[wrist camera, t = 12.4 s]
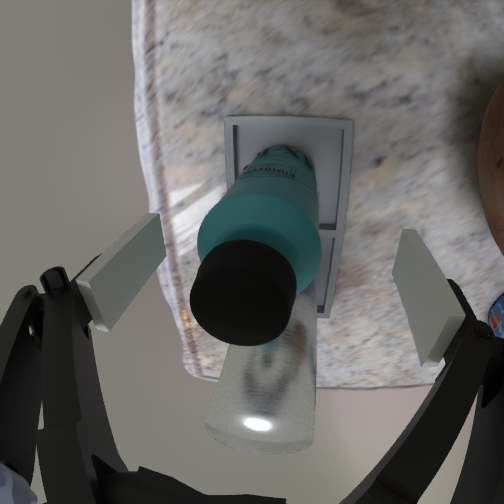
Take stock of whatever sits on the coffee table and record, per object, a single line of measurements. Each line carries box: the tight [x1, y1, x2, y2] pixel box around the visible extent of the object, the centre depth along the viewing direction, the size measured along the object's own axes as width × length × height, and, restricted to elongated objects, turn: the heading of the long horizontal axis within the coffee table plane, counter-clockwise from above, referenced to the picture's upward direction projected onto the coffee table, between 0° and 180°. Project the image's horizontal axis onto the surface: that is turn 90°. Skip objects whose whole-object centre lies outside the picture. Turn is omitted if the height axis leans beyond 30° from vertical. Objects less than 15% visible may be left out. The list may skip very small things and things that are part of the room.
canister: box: [205, 276, 317, 455], centre depth 24 cm, size 7×7×20 cm
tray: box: [224, 115, 354, 318], centre depth 30 cm, size 12×22×2 cm, turn 1°
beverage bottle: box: [190, 145, 322, 346], centre depth 19 cm, size 6×7×20 cm
